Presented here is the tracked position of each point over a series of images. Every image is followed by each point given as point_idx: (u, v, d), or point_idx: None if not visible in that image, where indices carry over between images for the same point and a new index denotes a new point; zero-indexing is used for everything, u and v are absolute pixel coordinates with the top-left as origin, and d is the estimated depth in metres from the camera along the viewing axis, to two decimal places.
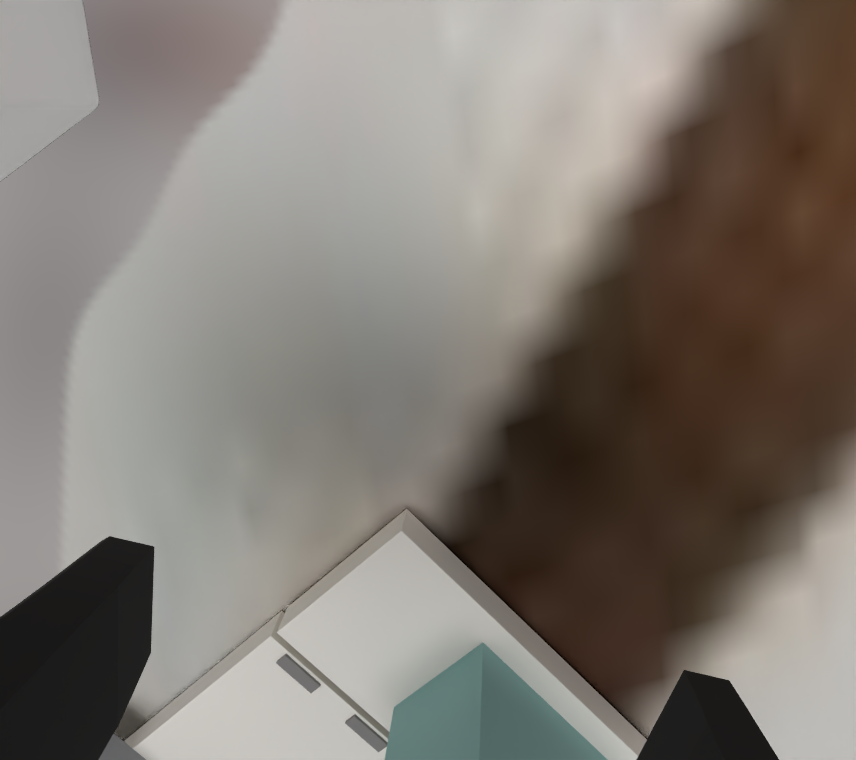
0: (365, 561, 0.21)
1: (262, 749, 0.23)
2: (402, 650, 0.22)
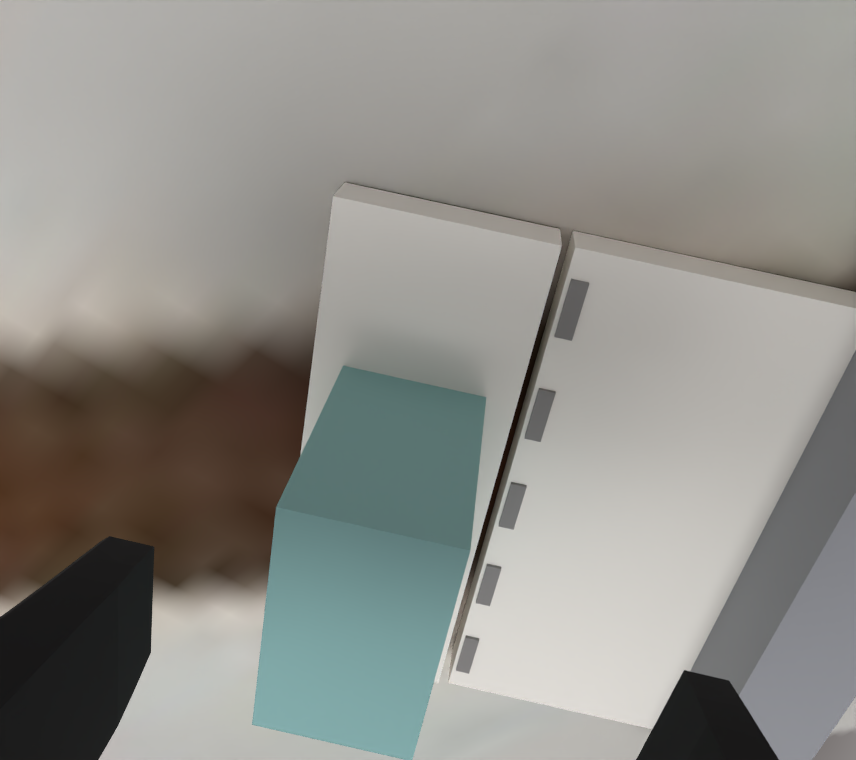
0: None
1: (579, 647, 0.22)
2: None
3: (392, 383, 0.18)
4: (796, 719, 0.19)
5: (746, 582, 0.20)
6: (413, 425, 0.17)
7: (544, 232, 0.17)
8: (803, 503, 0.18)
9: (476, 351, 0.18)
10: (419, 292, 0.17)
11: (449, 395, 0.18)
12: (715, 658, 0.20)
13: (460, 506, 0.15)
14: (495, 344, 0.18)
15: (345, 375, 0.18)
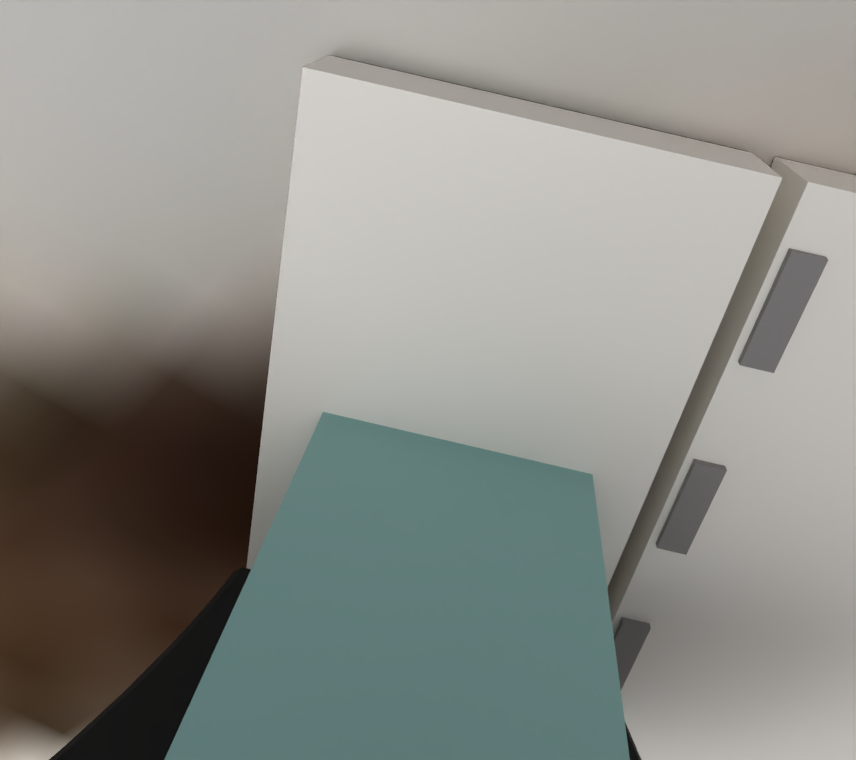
0: None
1: None
2: None
3: (416, 448, 0.09)
4: None
5: None
6: (466, 546, 0.08)
7: (731, 155, 0.08)
8: None
9: (581, 390, 0.09)
10: (476, 272, 0.09)
11: (525, 472, 0.09)
12: None
13: None
14: (619, 377, 0.09)
15: (327, 432, 0.09)
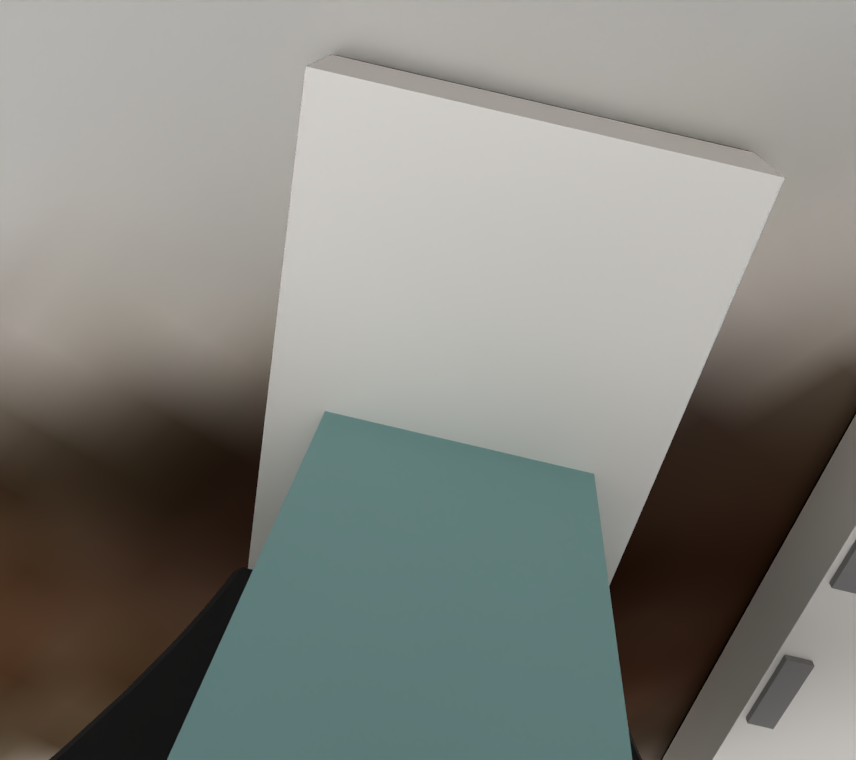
0: None
1: None
2: None
3: (419, 448, 0.09)
4: None
5: None
6: (468, 545, 0.08)
7: (733, 155, 0.08)
8: None
9: (582, 389, 0.09)
10: (478, 272, 0.09)
11: (527, 472, 0.09)
12: None
13: None
14: (621, 377, 0.09)
15: (329, 432, 0.09)
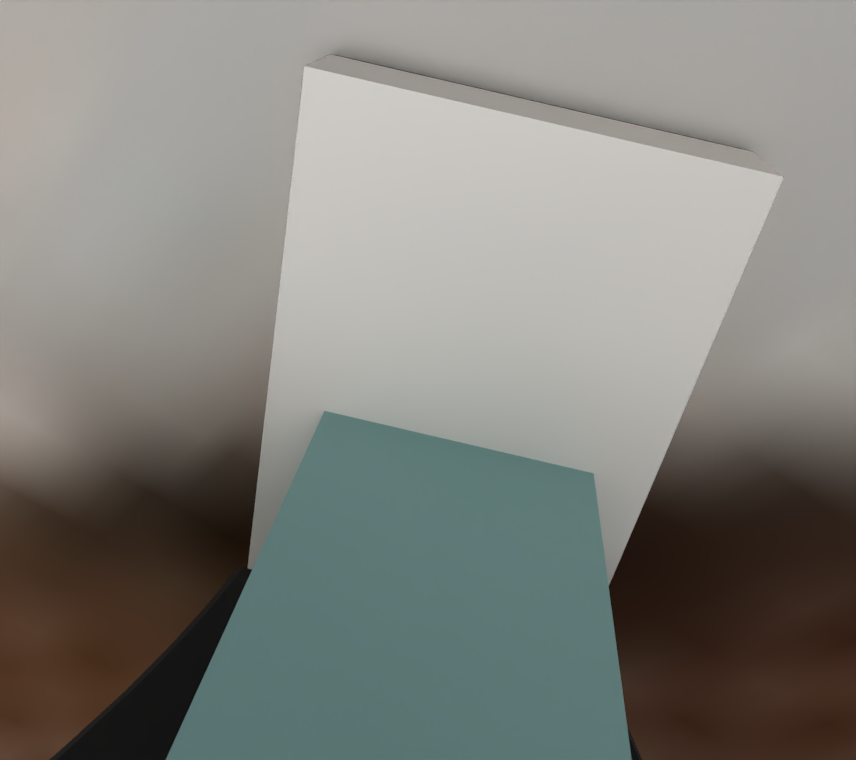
0: None
1: None
2: None
3: (418, 447, 0.09)
4: None
5: None
6: (467, 545, 0.08)
7: (732, 154, 0.08)
8: None
9: (582, 389, 0.09)
10: (477, 271, 0.09)
11: (526, 471, 0.09)
12: None
13: None
14: (621, 376, 0.09)
15: (328, 431, 0.09)
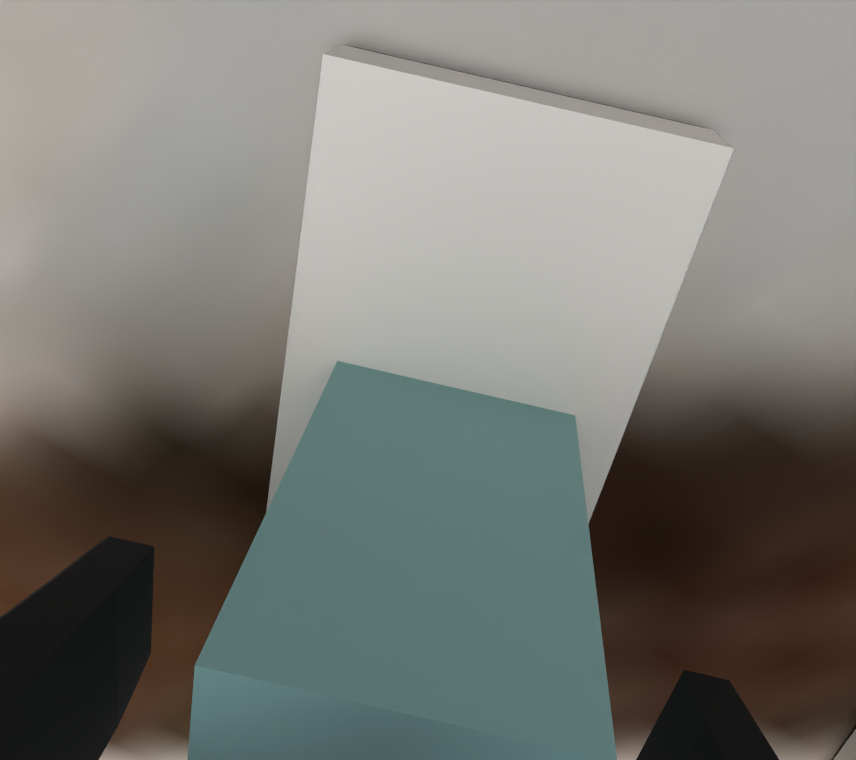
0: None
1: None
2: None
3: (420, 391, 0.11)
4: None
5: None
6: (464, 467, 0.09)
7: (692, 130, 0.10)
8: None
9: (564, 338, 0.10)
10: (472, 234, 0.10)
11: (516, 412, 0.11)
12: None
13: (574, 644, 0.07)
14: (598, 326, 0.10)
15: (341, 377, 0.11)
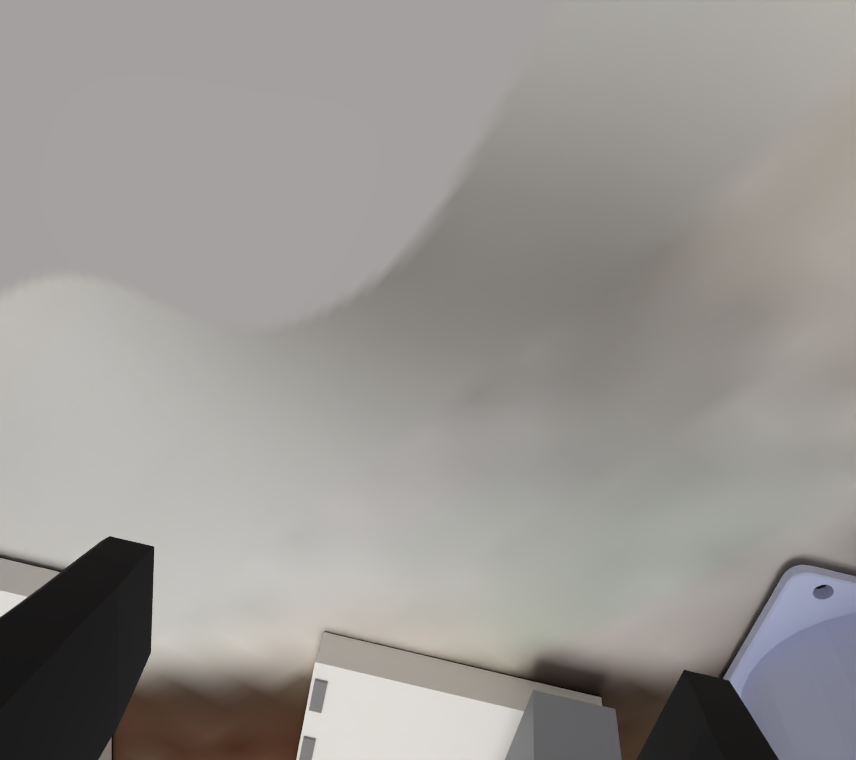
0: None
1: None
2: None
3: None
4: None
5: None
6: None
7: None
8: None
9: None
10: None
11: None
12: None
13: None
14: None
15: None
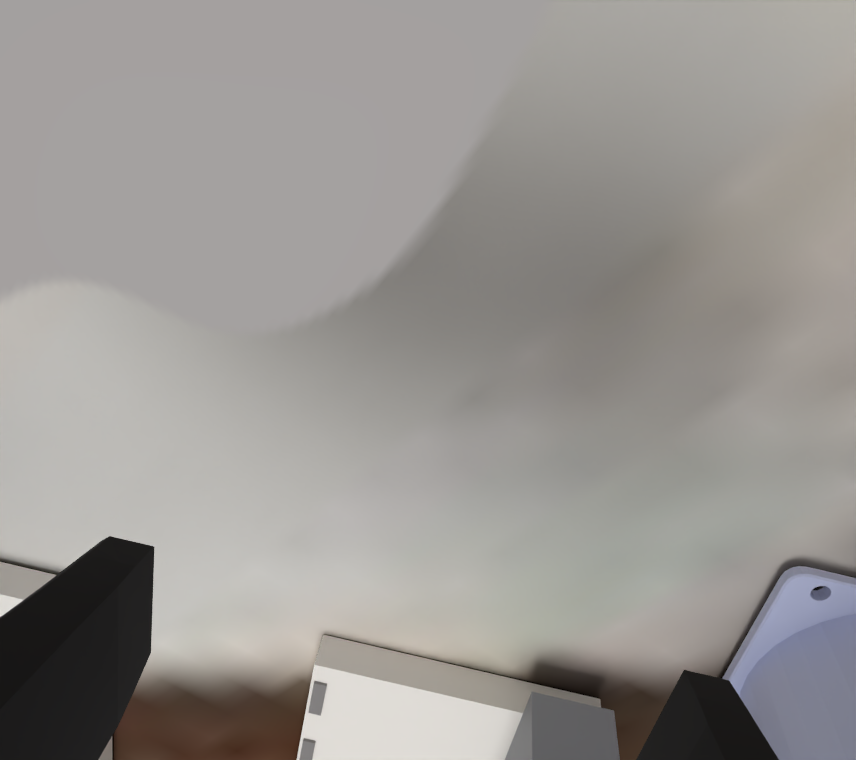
0: None
1: None
2: None
3: None
4: None
5: None
6: None
7: None
8: None
9: None
10: None
11: None
12: None
13: None
14: None
15: None
